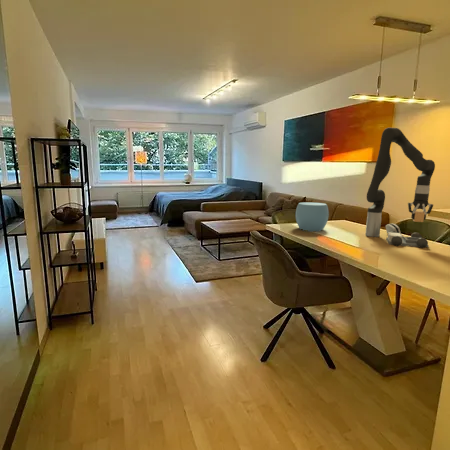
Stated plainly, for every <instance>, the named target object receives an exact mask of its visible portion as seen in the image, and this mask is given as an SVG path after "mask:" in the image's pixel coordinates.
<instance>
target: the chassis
mask: <svg viewBox="0 0 450 450" xmlns="http://www.w3.org/2000/svg"><path fill="white" fill-rule="evenodd" d="M403 236H404V235H403ZM403 236H402V233H401V234H400V233H397V232H395V231H390V232H388V234H387V237H386V238H385V239H386V242H387V244H388V245H392V246H396V247H398V246H402V247H403V246H405V247H414V248H415V247H416V248H421V249H423V248H424V249H425V247H428V248H429V247H430V246H429V242H428V240H427V239H426V238H424V237H422V235H421V233H420V232H413V233H411V235H410V236H404V237H403ZM402 237H403V238H402Z"/></svg>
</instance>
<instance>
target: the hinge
mask: <svg viewBox="0 0 450 450" xmlns="http://www.w3.org/2000/svg"><path fill="white" fill-rule="evenodd" d="M385 230H386V231H385V232H386V234H387V233H388V232H390V231H395V232H397V233H400V234H401V235H402V232H401V230H400V227H399V226H398V225H397V224H395V223H388V224H386V225H385ZM402 236H403V237H405V236H404V235H402ZM403 237H402V239H403Z"/></svg>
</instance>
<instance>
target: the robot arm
mask: <svg viewBox="0 0 450 450" xmlns="http://www.w3.org/2000/svg"><path fill="white" fill-rule="evenodd" d="M392 143H395V144H397V146H399V147H400V148H401V151H402V153H403V154H404V156H405V157H406V158H407V159H409V160H410V161H411V162H412V163H413V164H412V165H413V166H414V167H415V169H417V170H418V171H420V172H421V174H420V175H419V176H417V180H416V187H415V190H414V196H413V201H412V202H407V206H408V207H407V208H408V212H409V213H411V219H412V221H413V220H414V216H415V214H414V213H415V212H416V211H418V210H422V211H423V212H425V214H424V220H426V219H427V215H428V214H431V212H432V211H433V210H432V209H433V208H434V204H433V203H429V196H430V191H431V190H430V189H431V188H430V187H431V181H432V180H431V179H432V177H433V174H434V172H435V169H436V164H435V162H434V161H433V160H432V159H426V158H424V154H423V153H422V152H421V151H420V149H418V148H417V147H416V146H414V144H413V143H411V142H410V141H409V139H408V138H407V137H406V136H405V134H404V132H402V130H401V129H400V128H398V127H387V128H384V130H383V131H382V133H381V138H380V145H379V150H378V154H377V158H376V163H375V166H374V171H373V175H372V178H371V181H370V184H369V186H368V190H367V192H366V200H367V202H368V203H370V204H371V203H372V205H371V206H369V207H368V209H367V215H366V216H367V217H366V221H365V222H366V224H365V225H366V226H365V237H371V238H372V237H373V238H378V237H380V234H381V225H382V224H381V223H382V213H383V210H384V207H385V202H386V194H385V191H384V190H383V189H379V187H380V186H381V183H382V182H383V181H384V179H385V178H386V177H387V176H388V174H389V172H390V169H391V166H392V159H391V153H390V152H391V150H390V149H391V146H392ZM412 206H414V207H413V209H412ZM427 207H428V209H427Z"/></svg>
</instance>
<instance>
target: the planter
mask: <svg viewBox="0 0 450 450" xmlns="http://www.w3.org/2000/svg"><path fill="white" fill-rule="evenodd" d="M329 216H330V211H329V206H328V204H327V203H324V202H311V201H310V202H306V201H305V202H304V201H303V202H298V204H297V206H296V209H295V221H296V224H297V226H298V228H299V230H301V229H303V230H302V231H304V230H308V231H307V232H313V231H316V232H322V231H323V230H324V229H325V227H326V225H327V223H328V222H329ZM321 230H322V231H321Z"/></svg>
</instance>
